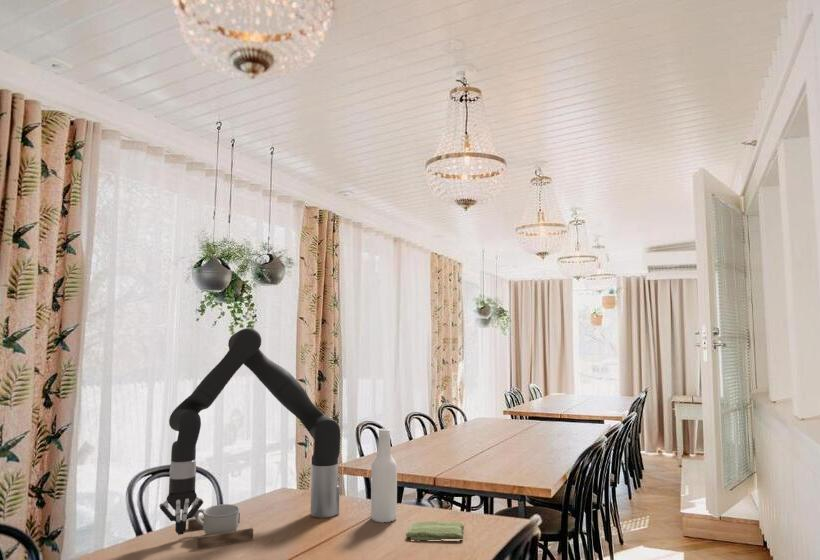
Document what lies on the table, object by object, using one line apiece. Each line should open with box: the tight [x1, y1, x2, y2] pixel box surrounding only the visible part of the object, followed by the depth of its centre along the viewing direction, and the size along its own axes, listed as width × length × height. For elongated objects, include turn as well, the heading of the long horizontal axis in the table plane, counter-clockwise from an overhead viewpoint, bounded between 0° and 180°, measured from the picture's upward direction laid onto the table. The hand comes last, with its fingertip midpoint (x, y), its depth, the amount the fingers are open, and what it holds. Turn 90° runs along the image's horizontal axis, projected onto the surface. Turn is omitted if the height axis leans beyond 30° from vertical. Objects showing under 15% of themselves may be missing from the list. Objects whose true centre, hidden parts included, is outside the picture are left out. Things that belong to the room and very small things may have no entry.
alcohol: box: [370, 427, 398, 524], centre depth 196 cm, size 9×9×30 cm
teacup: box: [194, 503, 240, 535], centre depth 179 cm, size 14×11×8 cm
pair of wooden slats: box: [187, 512, 254, 549], centre depth 180 cm, size 16×20×3 cm
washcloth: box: [405, 520, 465, 541], centre depth 179 cm, size 13×18×3 cm
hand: (180, 533), depth 174 cm, fingers closed
